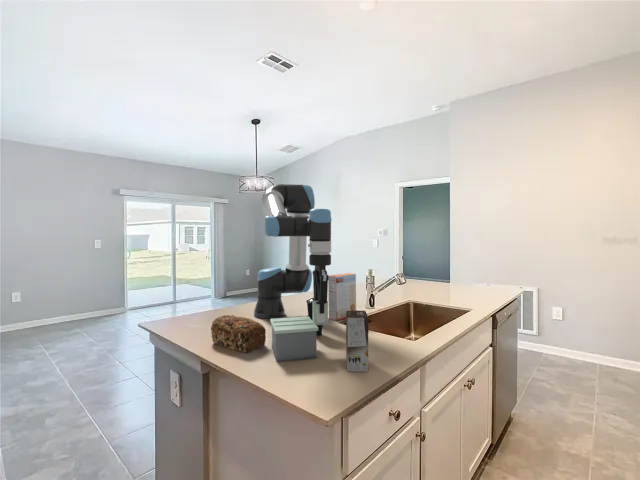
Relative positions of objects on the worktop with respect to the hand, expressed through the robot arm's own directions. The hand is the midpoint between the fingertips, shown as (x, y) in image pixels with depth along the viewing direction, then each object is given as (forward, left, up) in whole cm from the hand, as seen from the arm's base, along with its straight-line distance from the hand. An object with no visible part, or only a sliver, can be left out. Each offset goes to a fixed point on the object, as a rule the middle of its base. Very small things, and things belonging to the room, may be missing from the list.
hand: (320, 321), depth 114 cm
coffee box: (+16, +8, -10) cm, 20 cm away
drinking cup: (-17, +3, -10) cm, 20 cm away
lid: (0, -7, -1) cm, 7 cm away
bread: (-12, -27, -10) cm, 32 cm away
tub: (0, -9, -10) cm, 14 cm away
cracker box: (-41, +21, -10) cm, 47 cm away
